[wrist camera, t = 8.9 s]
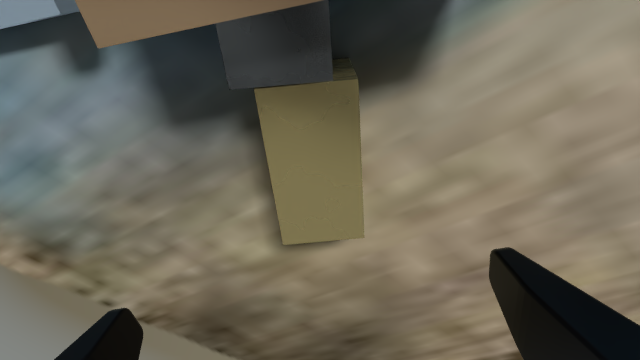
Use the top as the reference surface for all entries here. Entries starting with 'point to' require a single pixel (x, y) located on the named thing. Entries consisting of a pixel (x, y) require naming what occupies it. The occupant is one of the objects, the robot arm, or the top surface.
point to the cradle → (33, 11)
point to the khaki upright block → (315, 156)
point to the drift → (278, 47)
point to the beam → (165, 16)
